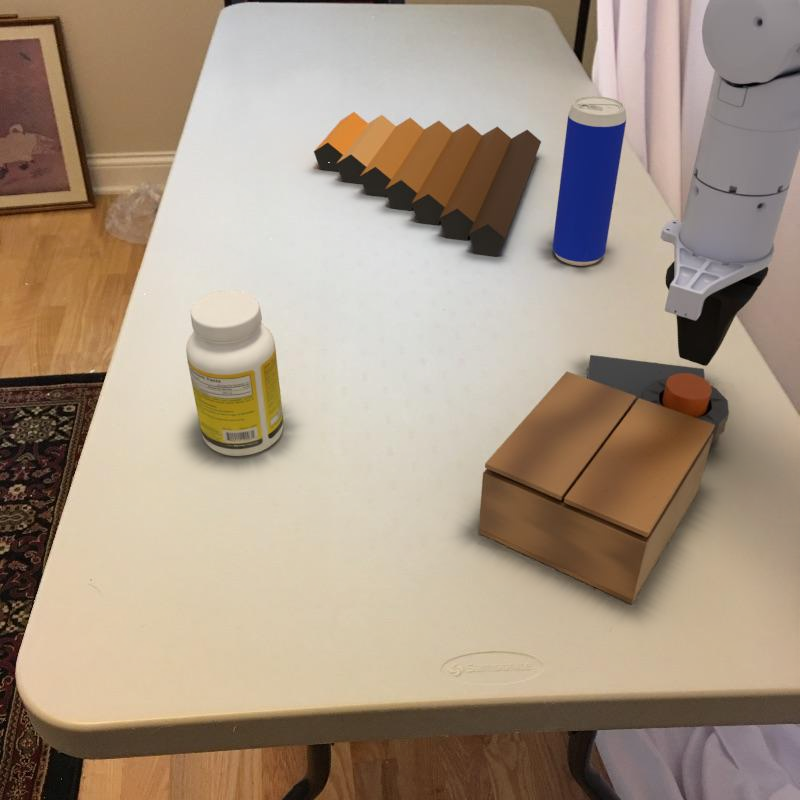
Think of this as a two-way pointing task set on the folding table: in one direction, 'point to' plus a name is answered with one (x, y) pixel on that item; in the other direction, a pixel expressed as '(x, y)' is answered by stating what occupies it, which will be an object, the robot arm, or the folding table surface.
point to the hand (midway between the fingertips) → (695, 357)
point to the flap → (640, 466)
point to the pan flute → (436, 173)
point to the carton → (555, 476)
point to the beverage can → (588, 179)
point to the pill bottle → (234, 374)
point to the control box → (654, 384)
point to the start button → (687, 394)
